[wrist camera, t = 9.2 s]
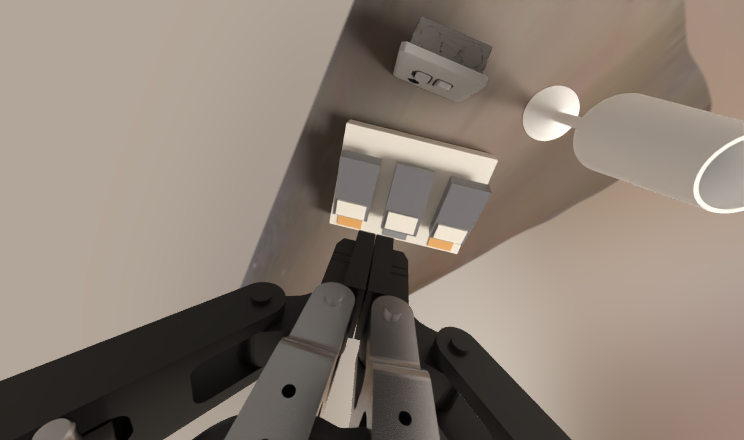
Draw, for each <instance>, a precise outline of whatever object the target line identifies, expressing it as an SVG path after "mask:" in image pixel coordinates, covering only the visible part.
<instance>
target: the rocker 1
mask: <svg viewBox="0 0 744 440" xmlns="http://www.w3.org/2000/svg"><path fill="white" fill-rule="evenodd" d="M381 162H382V159H381V158H377V157H373V156H369V155H365V154H361V153H357V152H353V151H349V150H345V149H344V150H343V152H342V154H341V156H340V162H339V169H338V177H337V184H336V191H335V198H334V205H333V213H332V214H336V215H340V216H344V217H349V218H353V219H357V220H361V221H365V222H367V220H368V216H369V212H370V207H371V203H372V199H373V195H374V191H375V187H376V182H377V178H378V174H379V170H380V166H381Z"/></svg>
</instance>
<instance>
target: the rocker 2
mask: <svg viewBox="0 0 744 440" xmlns="http://www.w3.org/2000/svg"><path fill="white" fill-rule="evenodd" d="M491 193H492V192H491V190H490V187H489V185H487V184H483V183H479V182H475V181H471V180H467V179H463V178H459V177H455V176H450V179H449V181H448V183H447V186H446V188H445V191H444V193H443V195H442V198H441V200H440V203H439V205H438V207H437V210H436V212H435V214H434V217H433V219H432V222H431V224H430V226H429V237H430V238H435V239H439V240H443V241H447V242H451V243H455V244H459V245H464V243H465V241H466V240H467V238H468V236H469V234H470V232H471V230H472V228H473V227H474V225H475V223H476V221H477V219H478V217H479V216H480V214H481V212H482V210H483V208H484V206H485V205H486V203H487V201H488V199H489V197H490V195H491Z"/></svg>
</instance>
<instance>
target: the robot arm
mask: <svg viewBox="0 0 744 440" xmlns="http://www.w3.org/2000/svg"><path fill="white" fill-rule="evenodd" d="M374 240H375V243H374ZM393 240H394V238H392V237H387V236H383V235H379V234H377V235H376V239H375V233H370V232H366V231H362V230H359V232H358V236H357V239H356V241H354V240H350V239H346V238H344V239H342V240H341V241H340V242H338V243H337V244H336V247H335V249H334V252H333V255H332V257H331V260H330V262H329V265H328V267H327V270H326V273H325V275H324V278H323V280H322V283H321V285H319V286H317V287H316V288H315V289H314V290H313V292H312V293H310V294H307V295H302V296H285V293H284V291H283V290H282V289H281V288H280V287H279V286H277V285H275V284H273V283H268V282H258V283H253V284H250V285H248V286H245V287H243V288H240V289H237V290H235V291H233V292H230V293H227V294H225V295H222V296H219V297H217V298H214V299H212V300H209V301H206V302H204V303H201V304H199V305H196V306H193V307H191V308H188V309H186V310H183V311H181V312H178V313H175V314H173V315H170V316H168V317H165V318H162V319H160V320H157V321H155V322H152V323H149V324H147V325H144V326H142V327H139V328H136V329H134V330H131V331H129V332H126V333H124V334H121V335H118V336H116V337H113V338H111V339H108V340H105V341H103V342H100V343H98V344H95V345H93V346H90V347H87V348H85V349H83V350H80V351H77V352H75V353H72V354H69V355H67V356H64V357H62V358H59V359H57V360H54V361H51V362H49V363H46V364H43V365H41V366H38V367H36V368H33V369H31V370H28V371H25V372H23V373H20V374H17V375H15V376H13V377H10V378H7V379H5V380H2V381H0V440H163V439H165V438H166V437H168V436H170V435H171V434H173V433H174V432H176V431H177V430H179V429H181V428H182V427H184V426H185V425H187V424H189V423H190V422H192V421H193V420H195V419H196V418H198V417H199V416H201V415H203V414H204V413H206V412H207V411H209V410H211V409H212V408H214V407H215V406H217V405H219V404H220V403H222V402H223V401H225V400H226V399H228V398H230V397H231V396H233V395H234V394H236V393H237V392H239V391H241V390H242V389H244V388H245V387H247V386H249V385H250V384H252V383H253V382H255V381H256V380H257V382H256V384H255V386H254V387H253V389H252V391H251V393H250V395H249V396H248V398H247V400H246V402H245V403H244V405H243V407H242V409H241V411H240V412H239V414H238V415H236V416H233V417H230V418H228V419H225V420H223V421H221V422H219V423H217V424H215V425H213V426H212V427H210V428H208V429H207V430H205V431H204V432H202V433H201V434H199V435H198V436H197V437H195V438H194V439H192V440H571V439H570V438H569V437H568V436H567V435H566V433H564V431H563V430H562V429H561V428H560V427H559V426H558V425H557V424H556V423H555V422H554V421H553V420H552V419H551V418H550V417H549V416H548V415H547V414H546V413H545V412H544V411H543V410H542V409H541V408H540V406H539V405H538V404H537V403H536V402H535V401H534V400H533V399H532V398H531V397H530V396H529V395H528V394H527V393H526V392H525V391H524V390H523V389H522V388H521V387H520V386H519V385H518V384H517V383H516V382H515V381H514V380H513V378H512V377H510V375H509V374H508V373H507V372H506V371H505V370H504V369H503V368H502V367H501V366H500V365H499V364H498V363H497V362H496V361H495V360H494V359H493V358H492V357H491V356H490V355H489V354H488V352H487V351H486V350H484V348H483V347H482V346H481V345H480V344H479V343H478V342H477V341H476V340H475V339H474V338H473V337H472V336H471V335H470V334H468V333H467V332H465V331H463V330H461V329H458V328H455V327H445V328H442V329H441V330H440V331H439V332H436V331H434V330H432V329H430V328H428V327H426V326H425V325H423V324H422V323H420V322H419V321H418V320H417V319H416V318H415V317H414V315H413V311H412V309H411V307H410V306H409V303H408V302H409V300H408V260H407V258H406V256H405V255H404V253H403V252H400V251H396V250H393ZM373 246H374V247H373ZM357 320H358V322H357ZM356 323H357V327H356ZM355 327H356V332H355V338H354V339H357V340H360V346H359V351H358V354H357V358H356V363H355V375H354V386H353V398H352V409H351V419H350V425H349V428H339V427H337V426H335V425H333V424H331V423H330V422H328V421H326V420H324V419H323V418H322V416H323V413H324V410H325V406H326V403H327V400H328V396H329V393H330V390H331V387H332V384H333V381H334V377H335V374H336V371H337V368H338V364H339V362H340V358H341V354H342V353H343V352H344V349H345V347H346V343H347V339H348V338H353V334H354V331H355ZM462 397H463V398H462ZM469 406H470V407H469ZM473 411H474V412H473ZM477 416H478V417H477ZM484 425H485V426H484Z"/></svg>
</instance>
